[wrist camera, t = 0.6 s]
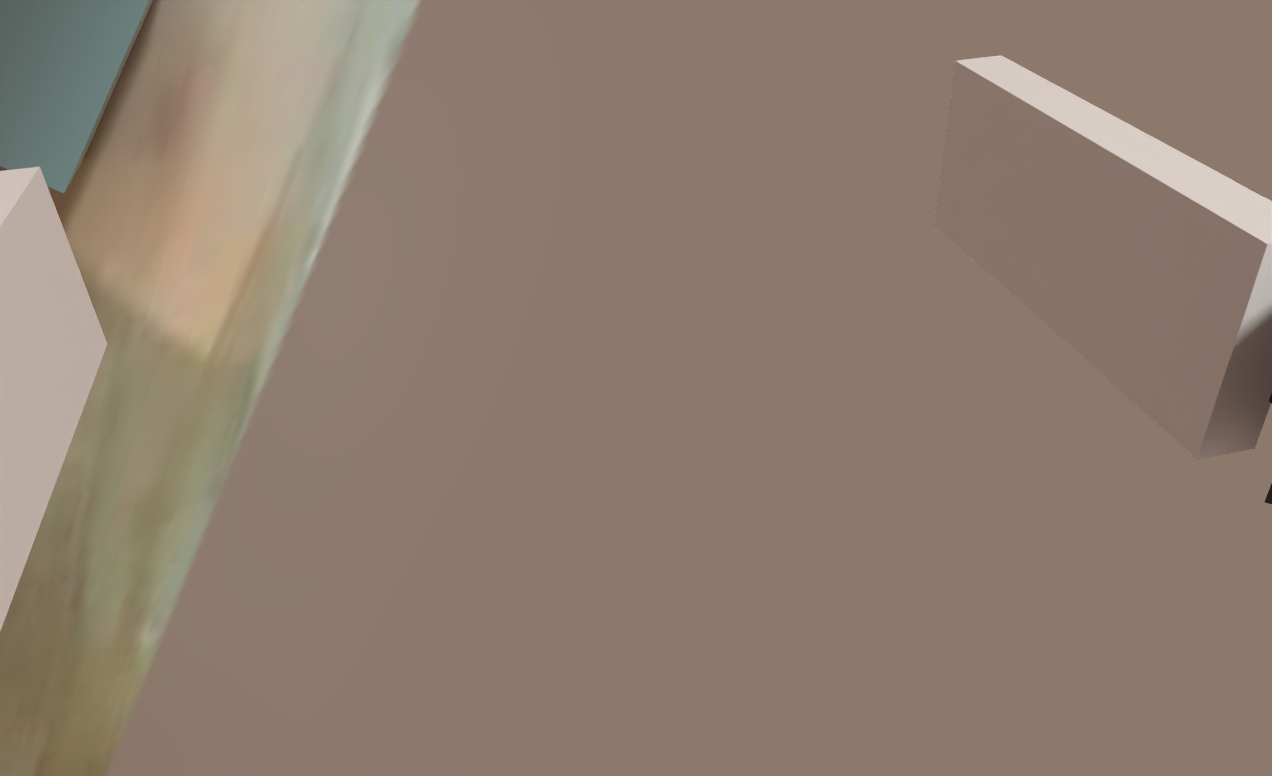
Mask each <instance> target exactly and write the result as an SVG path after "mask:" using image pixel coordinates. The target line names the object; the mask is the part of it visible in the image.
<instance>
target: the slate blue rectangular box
mask: <svg viewBox="0 0 1272 776" xmlns="http://www.w3.org/2000/svg"><path fill="white" fill-rule="evenodd" d="M152 2H153V0H0V166H1V167H3V168H6V169H8V170H14V169H23V168H31V167H40V168H41V171H42V173H43V176H44V179H45V181H46V184H47V187H50V188H52V189H54V190H57V191H59V192H61V193H65V191H66V189H67V188H68V186H69V184H70V183H71V181H72V179H73V177H74V176H75V174H76V172H77V170H78V169H79V167H80V165H81V163H82V162H83V159H84V157H85V155H86V153H87V150H88V148H89V146H90V144H91V141H92V139H93V137H94V134H95V132H96V130H97V128H98V125H99V123H100V121H101V118H102V116H103V114H104V112H105V109H106V107H107V105H108V103H109V100H110V98H111V96H112V93H113V91H114V89H115V87H116V84H117V82H118V80H119V77H120V75H121V73H122V71H123V68H124V66H125V64H126V61H127V59H128V57H129V55H130V52H131V50H132V48H133V46H134V43H135V41H136V39H137V36H138V34H139V32H140V30H141V27H142V25H143V23H144V20H145V18H146V16H147V14H148V11H149V9H150V7H151V5H152Z"/></svg>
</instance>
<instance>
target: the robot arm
mask: <svg viewBox="0 0 1272 776" xmlns="http://www.w3.org/2000/svg"><path fill="white" fill-rule="evenodd" d="M934 226H935V227H936V228H937V229H938V230H939V231H941V232H942V233H943V234H944V235H945V236H946V237H947V238H948V239H950V240H951V241H952V242H953V243H954V244H955V245H956V246H958V247H959V248H960V249H961V250H962V251H963V252H964V253H965V254H966V255H967V256H969V257H970V258H971V259H972V260H973V261H974V262H975V263H976V264H978V265H979V266H980V267H981V268H982V269H983V270H984V271H985V272H987V273H988V274H989V275H990V276H991V277H992V278H993V279H995V280H996V281H997V282H998V283H999V284H1000V285H1001V286H1002V287H1003V288H1005V289H1006V290H1007V291H1008V292H1009V293H1010V294H1011V295H1013V296H1014V297H1015V298H1016V299H1017V300H1018V301H1019V302H1020V303H1021V304H1023V305H1024V306H1025V307H1026V308H1027V309H1028V310H1029V311H1030V312H1032V313H1033V314H1034V315H1035V316H1036V317H1037V318H1038V319H1040V321H1042V322H1043V323H1044V324H1045V325H1046V326H1047V327H1048V328H1049V329H1051V330H1052V331H1053V332H1054V333H1055V334H1056V335H1057V336H1059V337H1060V338H1061V339H1062V340H1063V341H1064V342H1065V343H1066V344H1067V345H1069V346H1070V347H1071V348H1072V349H1073V350H1074V351H1075V352H1077V353H1078V354H1079V355H1080V356H1081V357H1082V358H1083V359H1084V360H1085V361H1087V362H1088V363H1089V364H1090V365H1091V366H1092V367H1094V369H1096V370H1097V371H1098V372H1099V373H1100V374H1101V375H1102V376H1103V377H1105V378H1106V379H1107V380H1108V381H1109V382H1110V383H1111V384H1113V385H1114V386H1115V387H1116V388H1117V389H1118V390H1119V391H1120V392H1122V394H1124V395H1125V396H1126V397H1127V398H1128V399H1129V400H1130V401H1132V402H1133V403H1134V404H1135V405H1136V406H1137V407H1139V409H1141V410H1142V411H1143V412H1144V413H1145V414H1146V415H1147V416H1148V417H1149V418H1151V419H1152V420H1153V421H1154V422H1155V423H1156V424H1157V425H1158V426H1160V427H1161V428H1162V429H1163V430H1164V431H1165V432H1166V433H1168V434H1169V435H1170V436H1171V437H1172V438H1173V439H1174V440H1175V441H1176V442H1178V443H1179V444H1180V445H1181V446H1182V447H1183V448H1185V450H1187V451H1188V452H1189V453H1190V454H1191V455H1192V456H1193V457H1194V458H1196V459H1202V458H1207V457H1212V456H1217V455H1223V454H1228V453H1233V452H1238V451H1244V450H1249V449H1254V448H1255V446H1256V443H1257V440H1258V437H1259V435H1260V431H1261V429H1262V426H1263V424H1264V421H1265V418H1266V415H1267V413H1268V410H1269V407H1270V404H1271V403H1272V201H1271V200H1269V199H1267V198H1265V197H1264V196H1262V195H1260V194H1258V193H1256V192H1254V191H1253V190H1251V189H1249V188H1247V187H1245V186H1243V185H1241V184H1240V183H1238V182H1236V181H1234V180H1231V179H1230V178H1227V177H1226V176H1224V175H1222V174H1220V173H1218V172H1216V171H1215V170H1213V169H1211V168H1209V167H1207V166H1205V165H1204V164H1202V163H1200V162H1198V161H1196V160H1194V159H1192V158H1191V157H1189V156H1187V155H1185V154H1183V153H1181V152H1179V151H1177V150H1176V149H1174V148H1172V147H1170V146H1168V145H1166V144H1165V143H1163V142H1161V141H1159V140H1157V139H1155V138H1153V137H1152V136H1150V135H1148V134H1146V133H1144V132H1142V131H1140V130H1138V129H1137V128H1135V127H1133V126H1131V125H1129V124H1127V123H1126V122H1124V121H1122V120H1120V119H1118V118H1116V117H1115V116H1113V115H1111V114H1108V113H1107V112H1105V111H1103V110H1101V109H1100V108H1098V107H1096V106H1094V105H1092V104H1090V103H1089V102H1087V101H1085V100H1083V99H1081V98H1079V97H1077V96H1075V95H1074V94H1072V93H1070V92H1068V91H1066V90H1064V89H1063V88H1061V87H1059V86H1057V85H1055V84H1053V83H1051V82H1049V81H1048V80H1046V79H1044V78H1042V77H1040V76H1038V75H1037V74H1035V73H1033V72H1031V71H1029V70H1027V69H1025V68H1023V67H1022V66H1020V65H1018V64H1016V63H1014V62H1012V61H1011V60H1009V59H1007V58H1005V57H1003V56H993V57H984V58H976V59H967V60H958V61H955V69H954V76H953V84H952V92H951V99H950V108H949V115H948V122H947V130H946V138H945V146H944V153H943V161H942V169H941V176H940V185H939V192H938V199H937V207H936V215H935V222H934ZM106 346H107V342H106V340H105V337H104V334H103V332H102V329H101V326H100V324H99V321H98V319H97V316H96V313H95V311H94V308H93V305H92V303H91V300H90V297H89V295H88V292H87V290H86V287H85V284H84V282H83V279H82V276H81V274H80V271H79V268H78V266H77V263H76V261H75V258H74V255H73V253H72V250H71V247H70V245H69V242H68V239H67V237H66V234H65V231H64V229H63V226H62V224H61V221H60V218H59V216H58V213H57V210H56V208H55V205H54V202H53V200H52V197H51V195H50V192H49V189H48V187H47V184H46V181H45V179H44V176H43V173H42V171H41V168H40V167H31V168H23V169H14V170H5V171H0V631H1V628H2V625H3V623H4V620H5V617H6V615H7V612H8V609H9V606H10V604H11V601H12V598H13V596H14V593H15V590H16V588H17V585H18V582H19V580H20V577H21V574H22V572H23V569H24V566H25V564H26V561H27V558H28V556H29V553H30V550H31V547H32V545H33V542H34V539H35V537H36V534H37V531H38V529H39V526H40V523H41V521H42V518H43V515H44V513H45V510H46V507H47V505H48V502H49V499H50V497H51V494H52V491H53V489H54V486H55V483H56V480H57V478H58V475H59V472H60V470H61V467H62V464H63V462H64V459H65V456H66V454H67V451H68V448H69V446H70V443H71V440H72V438H73V435H74V432H75V430H76V427H77V424H78V421H79V419H80V416H81V413H82V411H83V408H84V405H85V403H86V400H87V397H88V395H89V392H90V389H91V387H92V384H93V381H94V379H95V376H96V373H97V371H98V368H99V365H100V362H101V360H102V357H103V354H104V352H105V349H106ZM1265 502H1266V503H1269V504H1272V484H1271V487H1270V490H1269V492H1268V495H1267V497H1266V500H1265Z"/></svg>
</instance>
